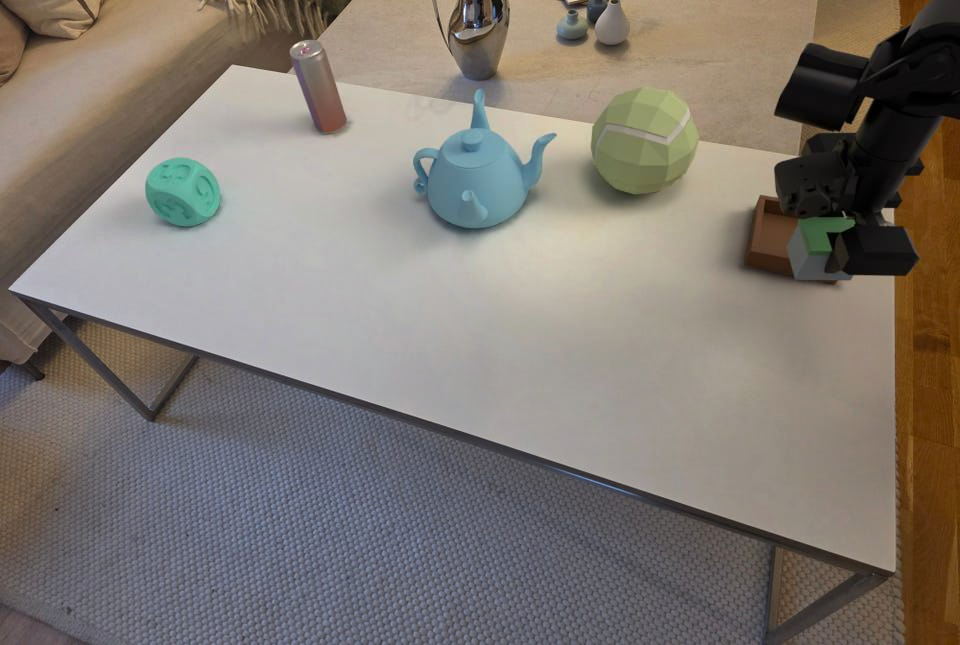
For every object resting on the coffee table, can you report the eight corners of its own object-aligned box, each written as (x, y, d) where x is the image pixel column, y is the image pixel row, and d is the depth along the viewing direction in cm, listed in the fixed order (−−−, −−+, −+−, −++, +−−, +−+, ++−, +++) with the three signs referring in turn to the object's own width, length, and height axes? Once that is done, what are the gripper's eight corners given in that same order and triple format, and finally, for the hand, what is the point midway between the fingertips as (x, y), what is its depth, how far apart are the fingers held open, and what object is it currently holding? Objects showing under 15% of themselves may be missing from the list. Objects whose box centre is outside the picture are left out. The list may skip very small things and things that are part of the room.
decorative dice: (184, 193, 102) (160, 155, 95) (226, 195, 101) (205, 157, 94) (163, 226, 97) (136, 189, 91) (207, 228, 96) (182, 191, 90)
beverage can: (310, 133, 109) (281, 56, 97) (325, 113, 112) (299, 37, 100) (338, 137, 108) (312, 60, 95) (352, 117, 111) (329, 40, 99)
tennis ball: (610, 141, 100) (619, 58, 88) (697, 164, 95) (720, 79, 83) (574, 197, 93) (579, 114, 81) (666, 224, 88) (687, 141, 76)
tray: (753, 210, 88) (760, 194, 86) (838, 225, 85) (847, 209, 82) (744, 265, 82) (750, 250, 80) (835, 284, 79) (844, 269, 76)
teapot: (559, 195, 94) (561, 130, 84) (474, 260, 87) (465, 197, 77) (485, 150, 102) (479, 86, 92) (402, 206, 95) (386, 143, 85)
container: (839, 247, 70) (858, 217, 66) (851, 281, 67) (872, 251, 63) (784, 247, 70) (799, 216, 66) (794, 280, 67) (810, 250, 63)
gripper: (777, 85, 61) (736, 198, 74) (821, 211, 50) (764, 318, 63) (892, 83, 60) (830, 198, 72) (963, 212, 49) (876, 321, 62)
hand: (823, 254), depth 67 cm, fingers closed on container, 5 cm apart
